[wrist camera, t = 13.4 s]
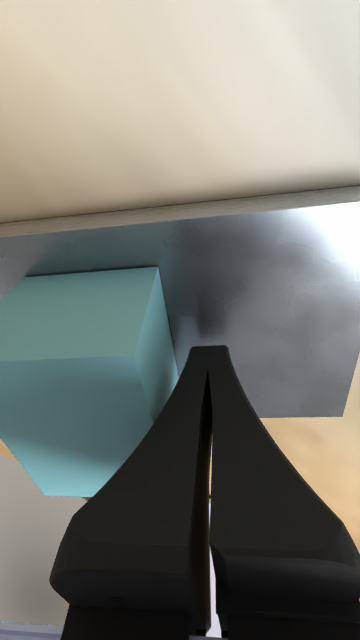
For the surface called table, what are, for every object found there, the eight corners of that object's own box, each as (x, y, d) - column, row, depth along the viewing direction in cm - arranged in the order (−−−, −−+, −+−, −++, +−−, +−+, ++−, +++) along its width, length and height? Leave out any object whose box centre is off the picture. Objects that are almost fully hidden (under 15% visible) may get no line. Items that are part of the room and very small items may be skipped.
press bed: (333, 391, 17) (366, 480, 13) (-118, 402, 20) (-188, 475, 17) (378, 183, 11) (463, 241, 7) (-271, 251, 14) (-433, 313, 11)
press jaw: (183, 400, 15) (174, 498, 12) (81, 403, 16) (44, 496, 13) (158, 266, 11) (133, 355, 8) (22, 277, 12) (-57, 363, 8)
